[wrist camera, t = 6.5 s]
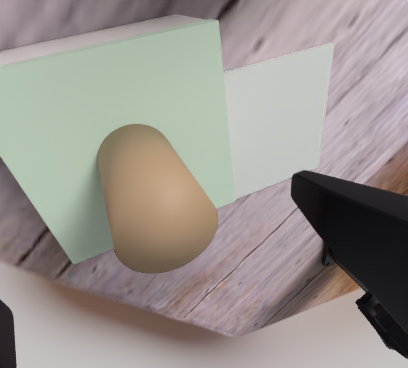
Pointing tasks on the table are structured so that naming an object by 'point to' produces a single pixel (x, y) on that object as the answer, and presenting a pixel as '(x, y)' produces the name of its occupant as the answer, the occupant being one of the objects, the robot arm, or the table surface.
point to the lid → (124, 144)
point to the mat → (277, 116)
